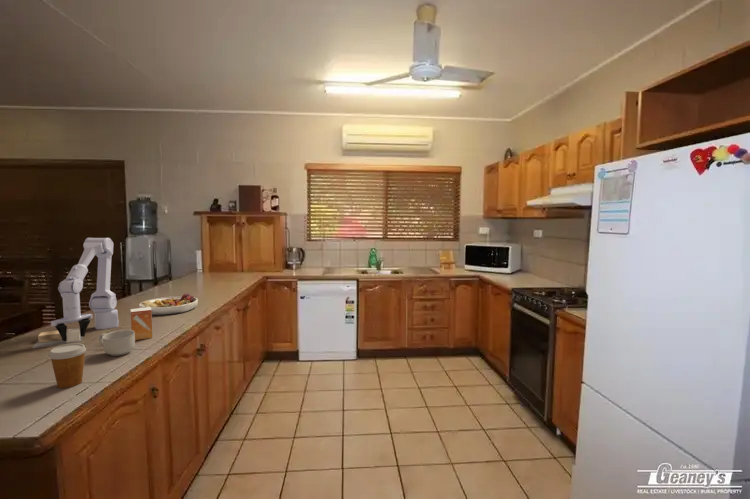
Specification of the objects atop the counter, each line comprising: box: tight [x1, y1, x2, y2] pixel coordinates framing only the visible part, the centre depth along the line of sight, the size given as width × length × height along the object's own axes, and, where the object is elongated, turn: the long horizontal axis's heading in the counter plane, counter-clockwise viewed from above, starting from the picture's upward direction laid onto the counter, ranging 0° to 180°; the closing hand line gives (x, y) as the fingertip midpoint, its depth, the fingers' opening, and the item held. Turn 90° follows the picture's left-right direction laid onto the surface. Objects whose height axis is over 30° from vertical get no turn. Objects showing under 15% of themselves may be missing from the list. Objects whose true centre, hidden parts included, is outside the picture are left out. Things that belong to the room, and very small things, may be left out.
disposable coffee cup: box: [48, 343, 87, 389], centre depth 124 cm, size 10×10×12 cm
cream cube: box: [66, 327, 81, 343], centre depth 165 cm, size 4×4×4 cm
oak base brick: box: [37, 329, 62, 343], centre depth 165 cm, size 8×6×3 cm
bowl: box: [138, 292, 199, 316], centre depth 223 cm, size 30×30×8 cm
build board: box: [32, 336, 84, 349], centre depth 165 cm, size 16×16×1 cm
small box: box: [129, 307, 153, 341], centre depth 171 cm, size 8×6×13 cm
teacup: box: [98, 329, 136, 357], centre depth 152 cm, size 14×11×8 cm
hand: (73, 338), depth 165 cm, fingers closed on cream cube, 6 cm apart
